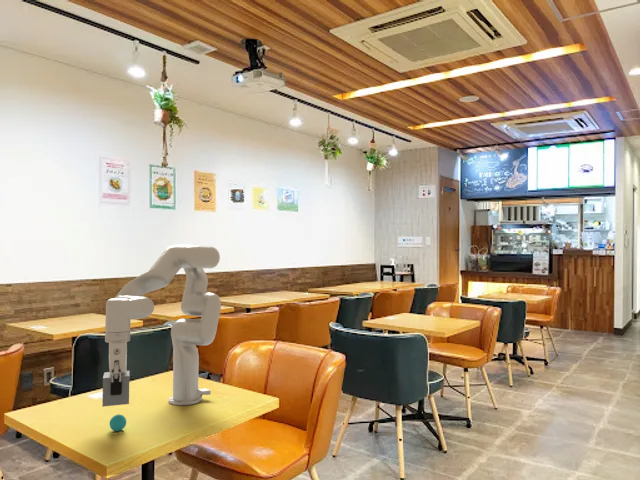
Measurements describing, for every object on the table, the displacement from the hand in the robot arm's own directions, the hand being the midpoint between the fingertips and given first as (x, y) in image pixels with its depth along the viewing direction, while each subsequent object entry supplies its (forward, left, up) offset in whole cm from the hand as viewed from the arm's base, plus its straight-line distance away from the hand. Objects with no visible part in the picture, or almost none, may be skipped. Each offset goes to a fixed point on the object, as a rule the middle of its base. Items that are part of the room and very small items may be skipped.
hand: (116, 390), depth 159 cm
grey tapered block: (0, 0, -4) cm, 4 cm away
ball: (-1, 0, -10) cm, 10 cm away
